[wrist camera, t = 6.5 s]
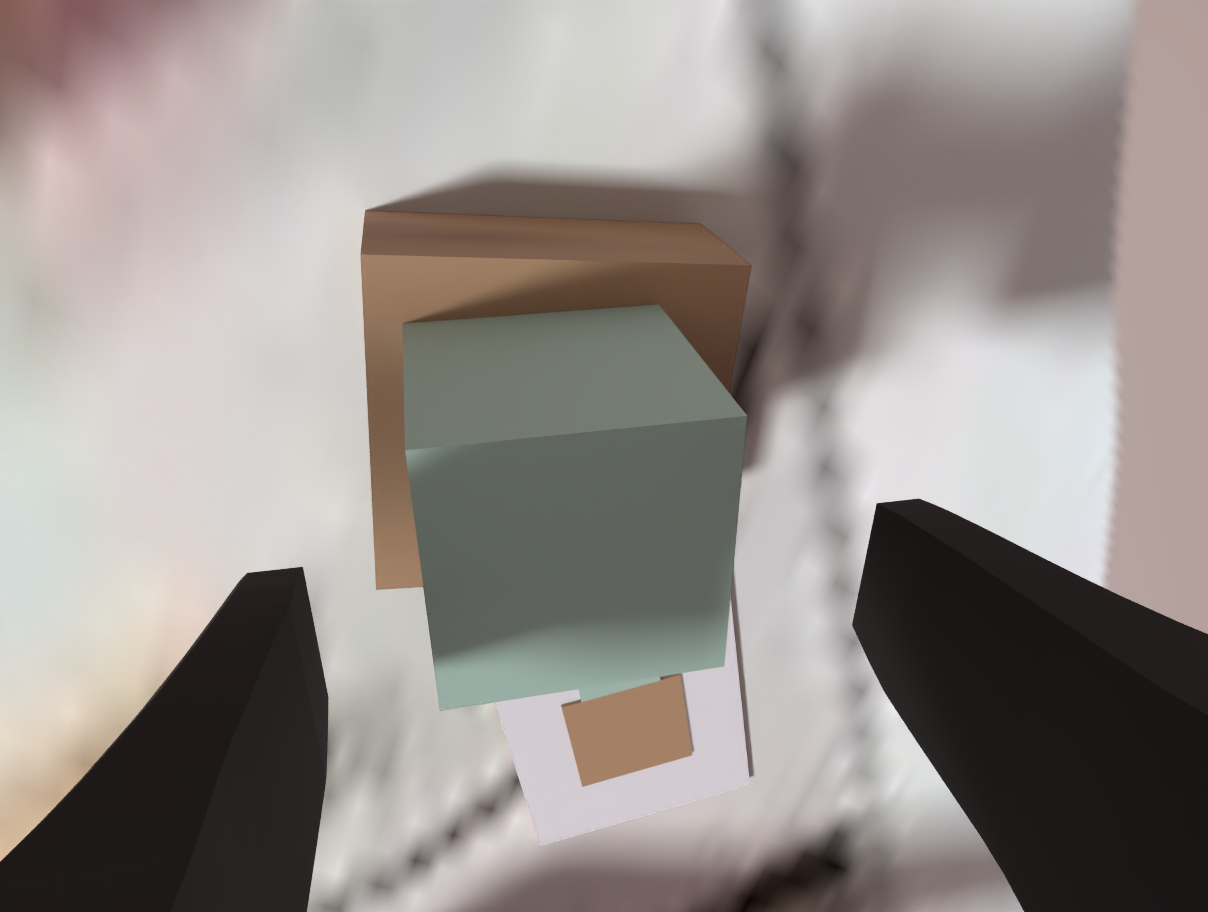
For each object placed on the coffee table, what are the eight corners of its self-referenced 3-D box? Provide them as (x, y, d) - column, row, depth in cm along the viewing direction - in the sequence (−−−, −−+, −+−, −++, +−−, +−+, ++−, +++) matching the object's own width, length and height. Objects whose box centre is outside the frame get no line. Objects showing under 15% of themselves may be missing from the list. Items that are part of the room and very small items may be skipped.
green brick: (652, 514, 16) (724, 666, 12) (429, 541, 15) (439, 710, 11) (658, 304, 14) (747, 415, 10) (402, 323, 13) (405, 450, 9)
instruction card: (747, 779, 24) (751, 787, 24) (539, 840, 23) (541, 849, 23) (720, 523, 19) (724, 530, 19) (459, 590, 19) (461, 599, 18)
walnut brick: (656, 490, 19) (698, 570, 16) (378, 500, 18) (376, 589, 15) (694, 218, 16) (751, 265, 14) (365, 205, 15) (360, 254, 12)
